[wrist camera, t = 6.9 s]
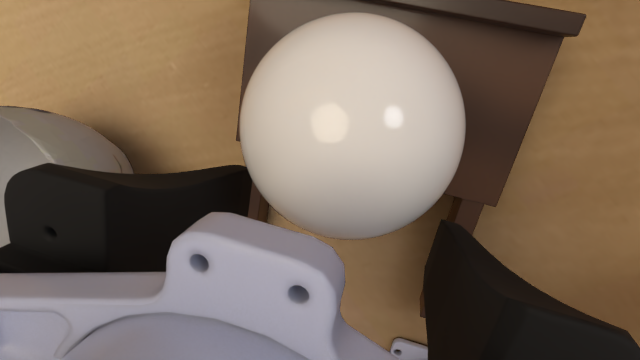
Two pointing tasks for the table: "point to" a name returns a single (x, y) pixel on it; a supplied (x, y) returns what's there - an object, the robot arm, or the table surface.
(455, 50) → the rack
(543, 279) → the table surface
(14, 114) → the teacup
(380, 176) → the lightbulb
